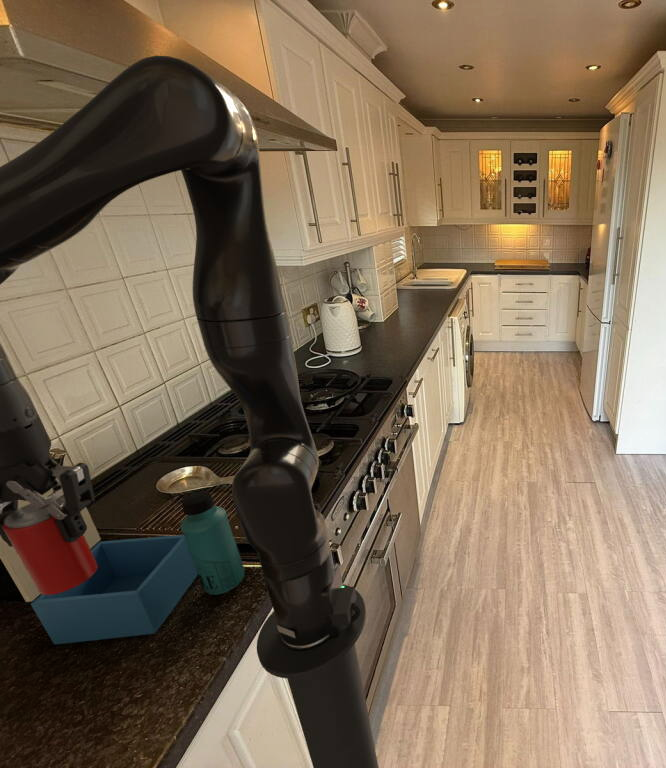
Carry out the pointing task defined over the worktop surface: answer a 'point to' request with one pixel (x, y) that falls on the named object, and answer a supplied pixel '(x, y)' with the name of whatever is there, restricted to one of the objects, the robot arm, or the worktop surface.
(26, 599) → the lid
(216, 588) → the beverage bottle
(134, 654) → the worktop surface
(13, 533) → the can
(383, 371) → the worktop surface
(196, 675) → the worktop surface
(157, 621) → the cool box
